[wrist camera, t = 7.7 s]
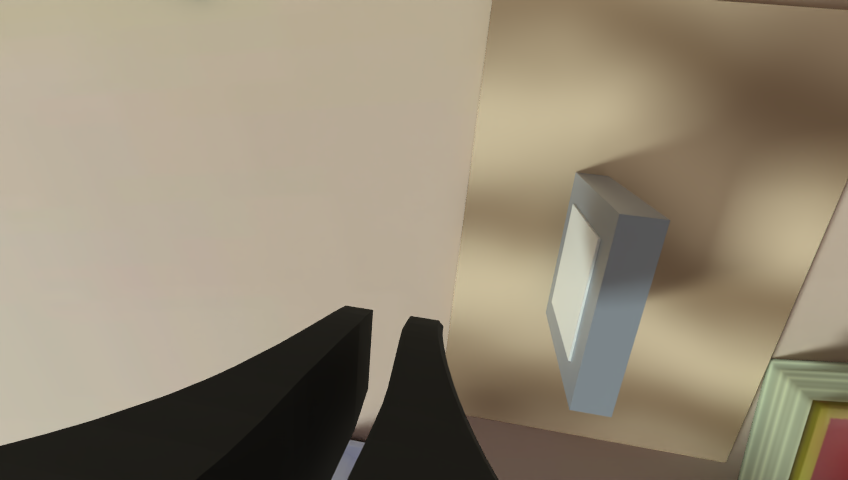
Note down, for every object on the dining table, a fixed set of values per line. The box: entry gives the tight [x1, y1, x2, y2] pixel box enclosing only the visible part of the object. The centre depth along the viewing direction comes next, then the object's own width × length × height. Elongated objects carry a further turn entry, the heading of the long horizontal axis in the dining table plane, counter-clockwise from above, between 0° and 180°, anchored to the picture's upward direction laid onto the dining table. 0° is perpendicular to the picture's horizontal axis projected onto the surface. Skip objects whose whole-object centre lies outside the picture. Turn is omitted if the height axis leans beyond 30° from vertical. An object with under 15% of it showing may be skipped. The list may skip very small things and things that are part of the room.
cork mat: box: [446, 0, 848, 463], centre depth 17 cm, size 18×13×1 cm
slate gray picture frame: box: [546, 172, 670, 417], centre depth 14 cm, size 6×1×6 cm, turn 175°
